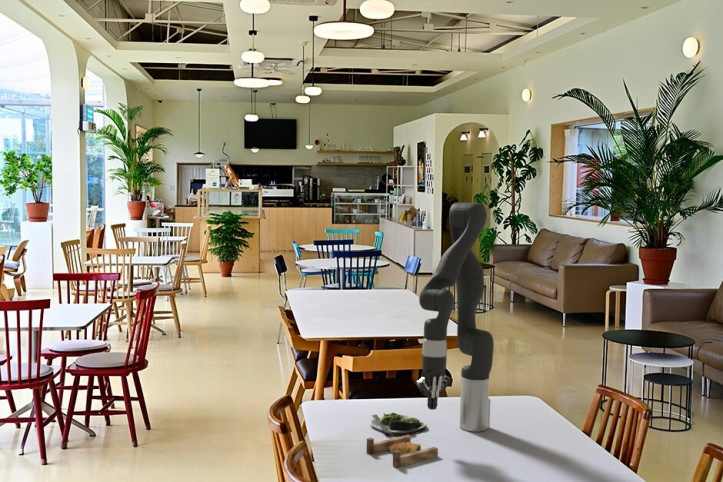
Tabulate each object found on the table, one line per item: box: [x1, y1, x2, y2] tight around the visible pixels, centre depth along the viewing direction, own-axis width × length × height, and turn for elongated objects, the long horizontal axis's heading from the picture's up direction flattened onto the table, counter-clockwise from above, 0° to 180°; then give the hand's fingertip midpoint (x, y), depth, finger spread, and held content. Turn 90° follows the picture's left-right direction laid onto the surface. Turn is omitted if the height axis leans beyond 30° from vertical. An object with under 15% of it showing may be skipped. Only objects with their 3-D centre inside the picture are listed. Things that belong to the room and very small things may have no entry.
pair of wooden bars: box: [366, 435, 439, 468], centre depth 225 cm, size 16×14×4 cm
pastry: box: [389, 442, 422, 456], centre depth 226 cm, size 9×7×4 cm
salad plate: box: [369, 411, 427, 437], centre depth 251 cm, size 19×18×5 cm
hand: (432, 408), depth 231 cm, fingers closed
